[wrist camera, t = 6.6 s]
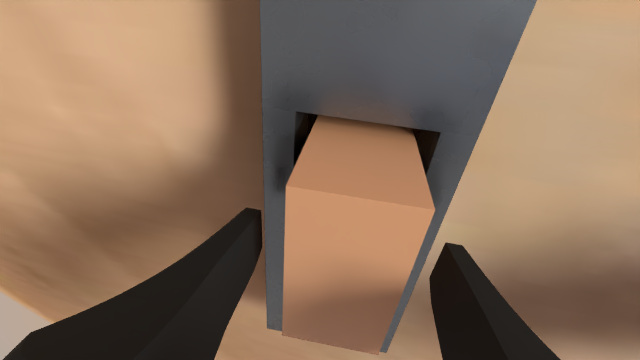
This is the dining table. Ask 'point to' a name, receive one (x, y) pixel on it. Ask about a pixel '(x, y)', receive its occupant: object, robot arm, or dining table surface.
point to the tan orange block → (352, 231)
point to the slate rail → (379, 92)
